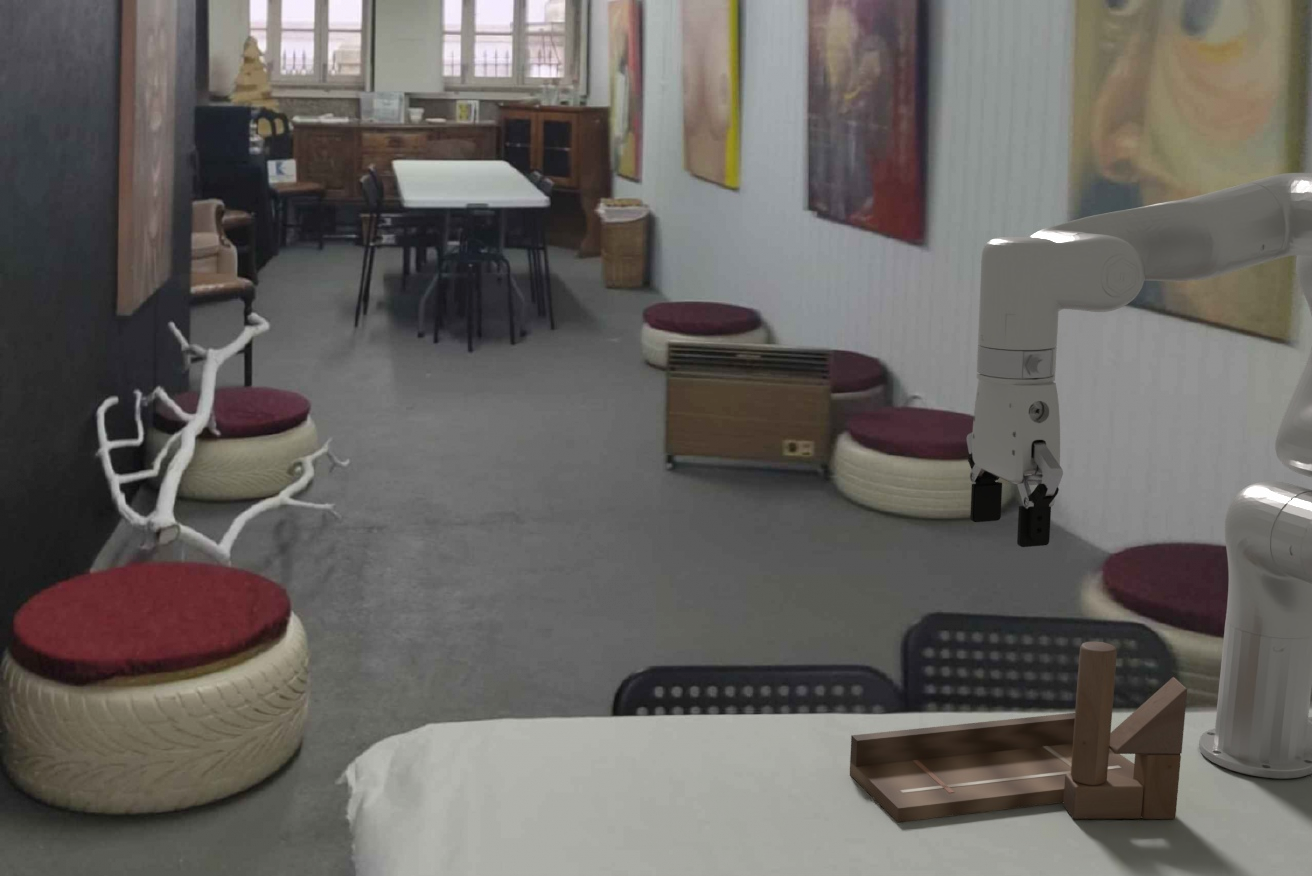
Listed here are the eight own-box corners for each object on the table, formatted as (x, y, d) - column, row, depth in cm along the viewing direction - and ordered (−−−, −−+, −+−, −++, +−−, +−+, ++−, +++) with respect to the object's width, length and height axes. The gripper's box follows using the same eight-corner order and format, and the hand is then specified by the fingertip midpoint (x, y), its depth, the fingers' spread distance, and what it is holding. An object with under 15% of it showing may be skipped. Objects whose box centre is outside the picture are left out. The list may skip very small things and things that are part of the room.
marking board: (1091, 748, 170) (1094, 710, 169) (1154, 791, 159) (1157, 751, 158) (849, 774, 161) (851, 735, 161) (897, 822, 150) (899, 780, 149)
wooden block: (1176, 820, 152) (1191, 652, 148) (1073, 821, 151) (1085, 652, 148) (1163, 805, 155) (1177, 640, 152) (1061, 805, 155) (1073, 640, 151)
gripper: (1098, 376, 139) (1088, 553, 142) (1007, 350, 155) (1000, 509, 158) (1025, 379, 137) (1017, 559, 140) (941, 353, 153) (936, 514, 156)
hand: (1008, 532), depth 149 cm, fingers open, 9 cm apart
